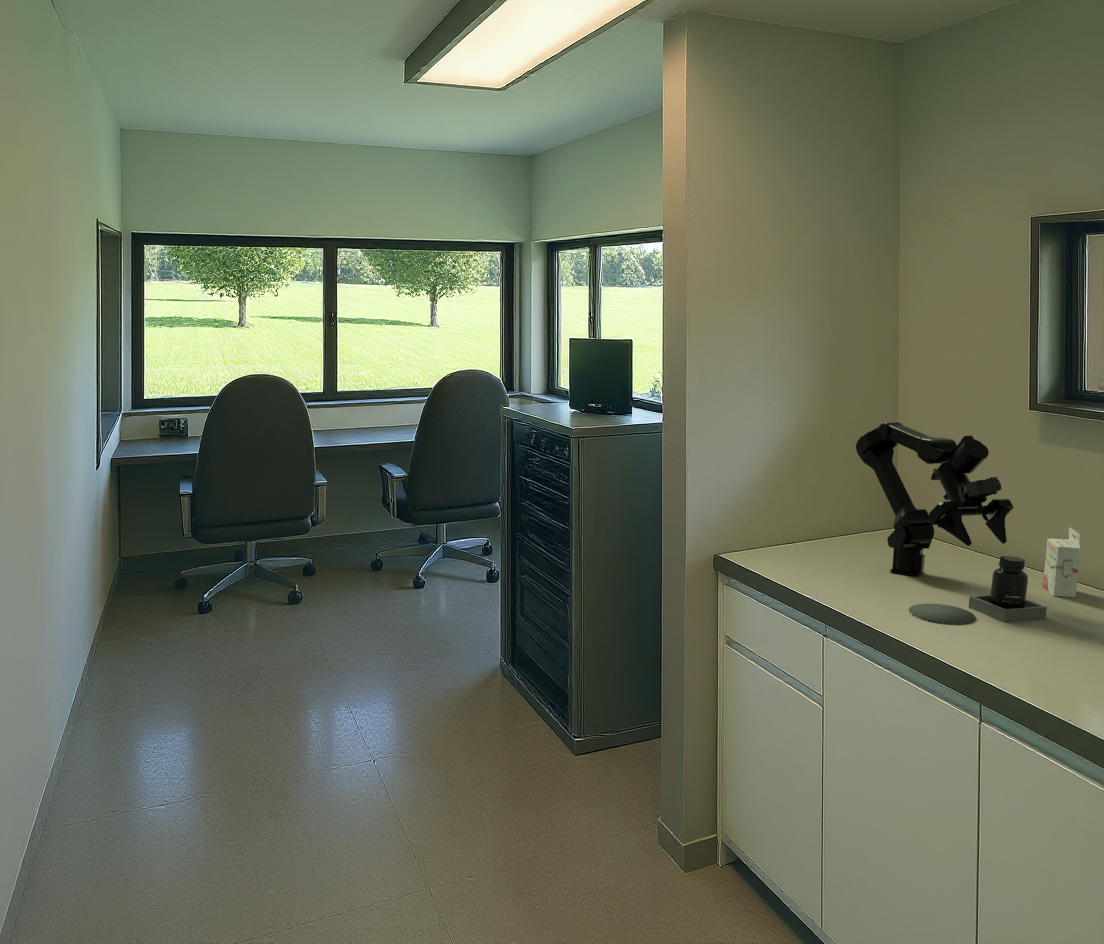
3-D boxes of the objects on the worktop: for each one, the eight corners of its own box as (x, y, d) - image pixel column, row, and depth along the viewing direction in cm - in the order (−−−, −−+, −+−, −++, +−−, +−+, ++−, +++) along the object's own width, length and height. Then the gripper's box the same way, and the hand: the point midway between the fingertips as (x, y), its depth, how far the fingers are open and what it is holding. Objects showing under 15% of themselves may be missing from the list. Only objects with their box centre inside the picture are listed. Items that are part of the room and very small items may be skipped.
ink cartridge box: (1041, 586, 224) (1047, 525, 222) (1064, 587, 223) (1070, 526, 221) (1052, 596, 216) (1059, 533, 213) (1076, 598, 215) (1083, 534, 212)
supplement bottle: (1009, 619, 198) (1015, 563, 196) (981, 610, 204) (986, 556, 202) (1031, 615, 201) (1037, 560, 200) (1003, 606, 207) (1008, 553, 205)
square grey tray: (968, 607, 206) (969, 596, 206) (1008, 603, 209) (1009, 592, 209) (1004, 622, 196) (1005, 610, 196) (1045, 618, 199) (1047, 607, 199)
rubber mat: (901, 616, 199) (901, 614, 199) (917, 601, 210) (917, 600, 210) (967, 628, 192) (968, 626, 192) (980, 612, 203) (980, 611, 202)
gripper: (941, 465, 207) (972, 526, 199) (1011, 463, 213) (1044, 521, 204) (915, 494, 216) (944, 553, 207) (983, 491, 221) (1014, 548, 213)
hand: (987, 543), depth 208 cm, fingers open, 9 cm apart
